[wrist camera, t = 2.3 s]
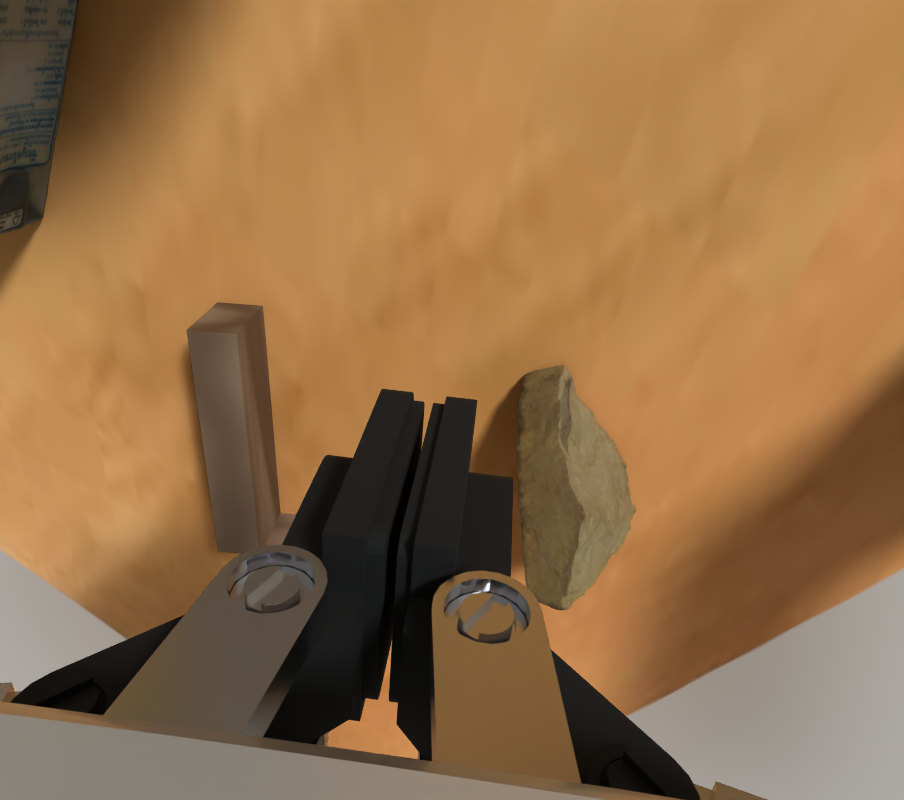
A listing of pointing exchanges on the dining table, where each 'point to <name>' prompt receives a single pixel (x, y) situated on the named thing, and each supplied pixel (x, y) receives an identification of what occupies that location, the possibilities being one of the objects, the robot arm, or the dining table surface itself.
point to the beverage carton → (30, 101)
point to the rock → (566, 490)
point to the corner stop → (237, 426)
